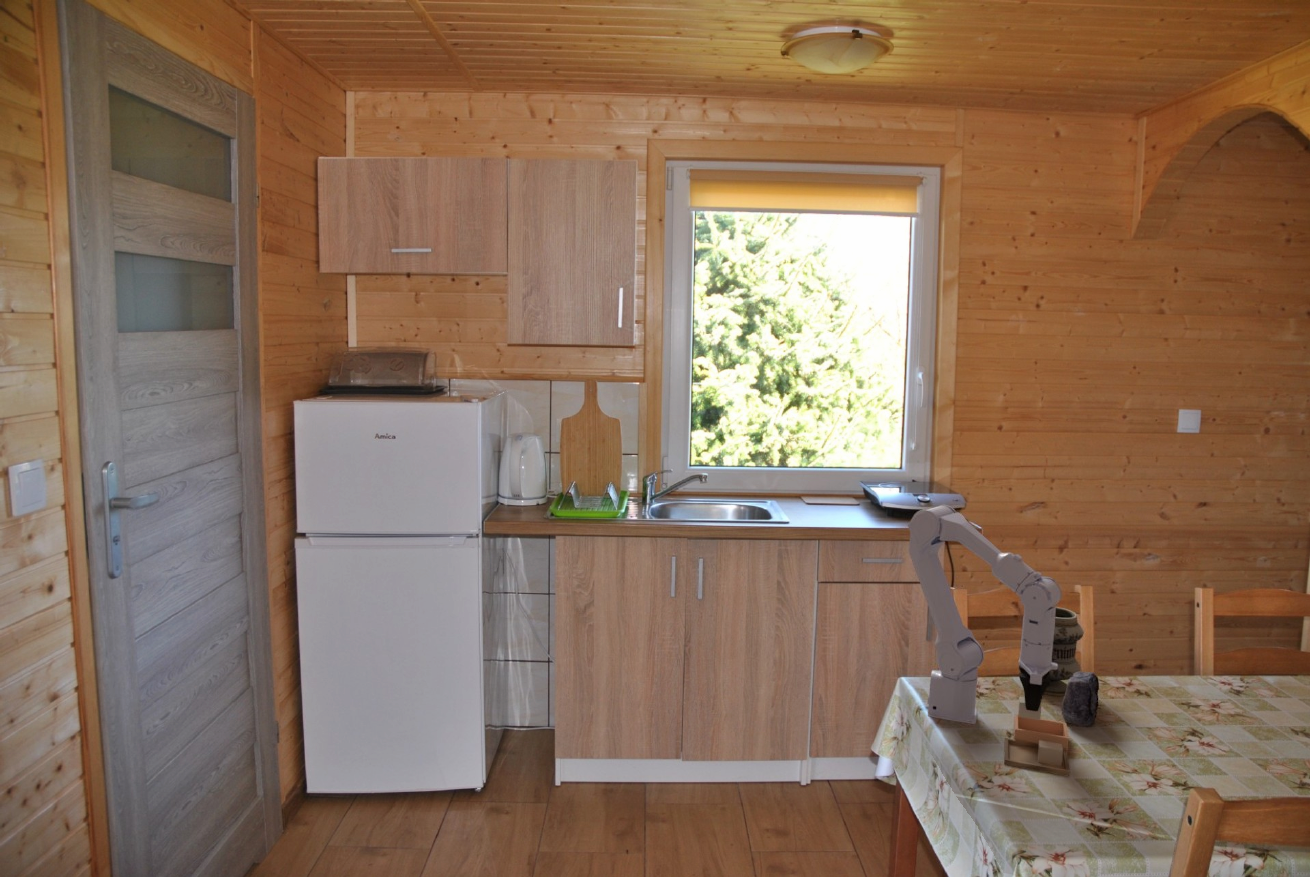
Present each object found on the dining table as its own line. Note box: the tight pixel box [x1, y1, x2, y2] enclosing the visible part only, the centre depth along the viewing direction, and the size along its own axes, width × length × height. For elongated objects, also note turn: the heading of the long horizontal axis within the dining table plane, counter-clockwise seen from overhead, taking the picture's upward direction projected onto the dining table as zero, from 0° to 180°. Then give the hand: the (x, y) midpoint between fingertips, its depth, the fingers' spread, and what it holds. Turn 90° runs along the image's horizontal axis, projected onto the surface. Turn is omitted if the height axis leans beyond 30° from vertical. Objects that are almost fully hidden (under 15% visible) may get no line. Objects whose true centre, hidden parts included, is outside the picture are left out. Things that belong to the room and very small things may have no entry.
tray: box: [1004, 737, 1070, 777], centre depth 173 cm, size 11×10×1 cm
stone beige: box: [1038, 740, 1063, 766], centre depth 172 cm, size 4×3×3 cm
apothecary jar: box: [1043, 606, 1085, 697], centre depth 208 cm, size 12×12×18 cm
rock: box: [1060, 670, 1100, 727], centre depth 190 cm, size 10×6×10 cm, turn 142°
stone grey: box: [1017, 696, 1042, 720], centre depth 181 cm, size 4×3×3 cm
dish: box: [1013, 713, 1070, 753], centre depth 181 cm, size 10×8×3 cm
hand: (1031, 706), depth 181 cm, fingers closed on stone grey, 3 cm apart
